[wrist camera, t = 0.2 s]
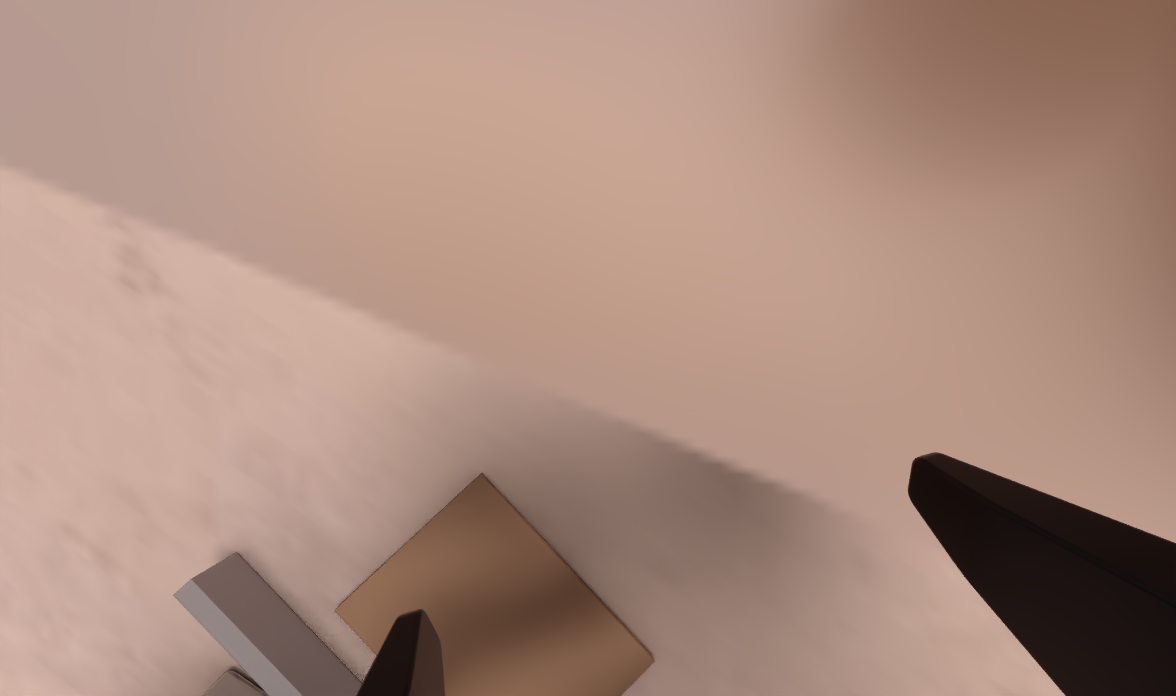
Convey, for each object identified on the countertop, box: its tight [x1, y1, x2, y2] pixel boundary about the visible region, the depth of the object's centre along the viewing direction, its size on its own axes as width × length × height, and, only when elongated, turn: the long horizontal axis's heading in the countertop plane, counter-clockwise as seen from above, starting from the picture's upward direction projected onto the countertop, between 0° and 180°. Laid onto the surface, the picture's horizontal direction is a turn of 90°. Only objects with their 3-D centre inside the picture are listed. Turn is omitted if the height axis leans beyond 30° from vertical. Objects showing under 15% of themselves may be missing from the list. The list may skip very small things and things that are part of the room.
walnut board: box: [335, 473, 654, 696], centre depth 23 cm, size 11×8×1 cm
